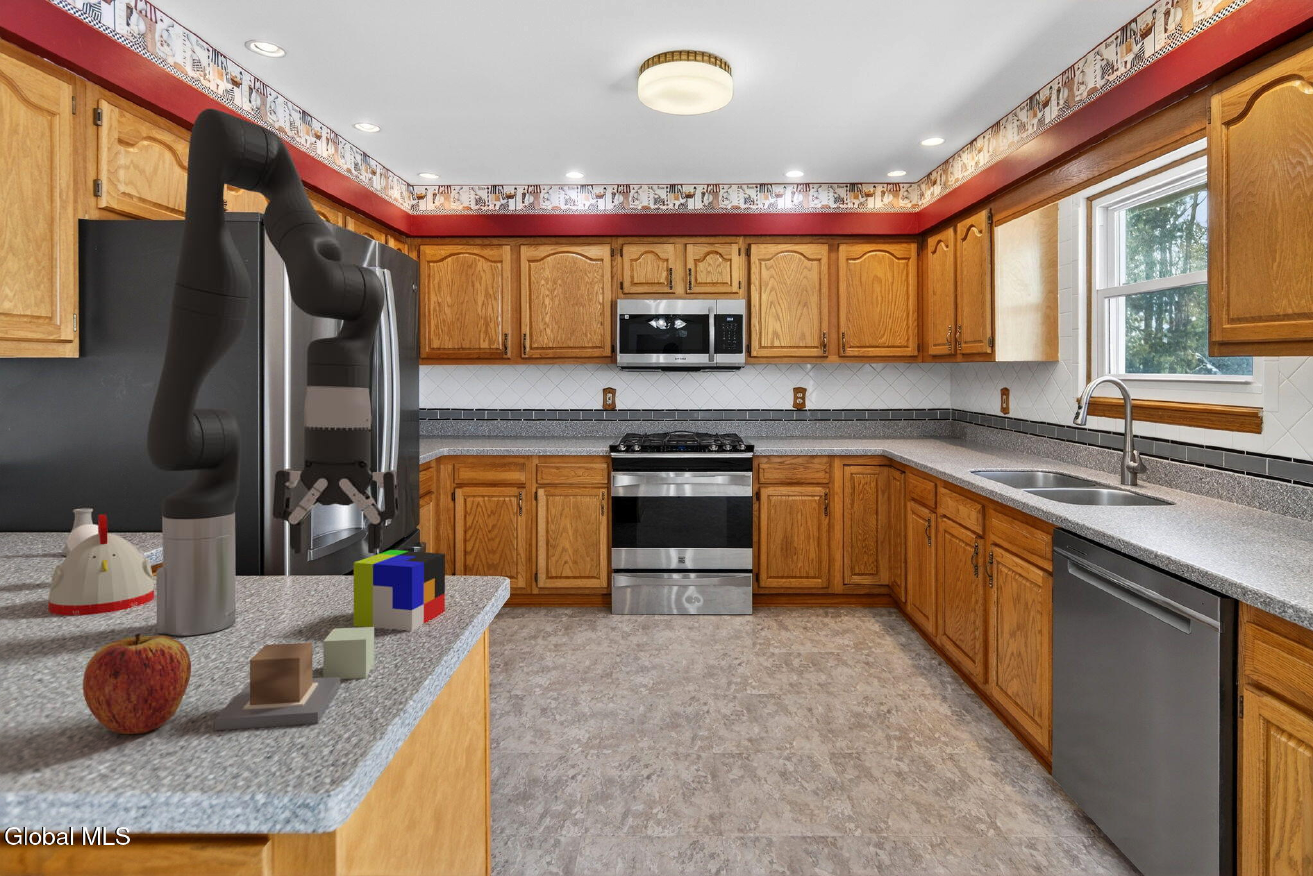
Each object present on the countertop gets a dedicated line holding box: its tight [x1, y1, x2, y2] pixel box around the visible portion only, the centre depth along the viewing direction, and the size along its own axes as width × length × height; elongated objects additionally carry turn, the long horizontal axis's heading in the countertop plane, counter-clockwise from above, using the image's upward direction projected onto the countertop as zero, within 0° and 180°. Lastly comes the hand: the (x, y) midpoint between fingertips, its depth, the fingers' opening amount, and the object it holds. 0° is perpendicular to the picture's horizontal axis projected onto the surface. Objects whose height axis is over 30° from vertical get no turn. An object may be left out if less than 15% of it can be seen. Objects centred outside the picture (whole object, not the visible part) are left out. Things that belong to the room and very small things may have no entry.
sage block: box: [322, 627, 375, 680], centre depth 89 cm, size 5×5×5 cm
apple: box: [82, 633, 192, 735], centre depth 73 cm, size 9×9×10 cm
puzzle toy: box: [353, 549, 446, 632], centre depth 111 cm, size 10×10×10 cm
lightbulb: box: [66, 523, 98, 551], centre depth 129 cm, size 6×6×11 cm
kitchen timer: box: [48, 514, 155, 616], centre depth 117 cm, size 14×14×15 cm
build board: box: [214, 677, 341, 731], centre depth 79 cm, size 10×10×1 cm
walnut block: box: [249, 642, 313, 705], centre depth 78 cm, size 5×5×5 cm
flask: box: [60, 508, 94, 557], centre depth 153 cm, size 7×7×10 cm
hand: (337, 552), depth 87 cm, fingers open, 8 cm apart
